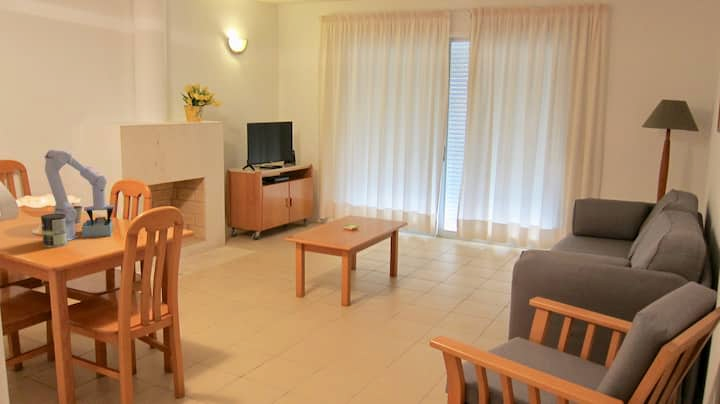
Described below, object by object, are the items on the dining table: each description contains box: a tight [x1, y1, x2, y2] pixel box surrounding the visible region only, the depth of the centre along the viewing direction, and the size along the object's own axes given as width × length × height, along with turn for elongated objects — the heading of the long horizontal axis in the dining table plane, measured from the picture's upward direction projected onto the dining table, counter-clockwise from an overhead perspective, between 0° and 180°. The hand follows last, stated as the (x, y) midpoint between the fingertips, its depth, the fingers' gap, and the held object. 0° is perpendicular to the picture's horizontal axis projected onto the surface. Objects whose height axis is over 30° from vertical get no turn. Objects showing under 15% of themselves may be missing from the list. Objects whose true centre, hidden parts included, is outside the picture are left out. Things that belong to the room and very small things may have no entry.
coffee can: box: [40, 213, 68, 248], centre depth 275 cm, size 10×10×14 cm
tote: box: [81, 218, 114, 239], centre depth 301 cm, size 17×13×6 cm
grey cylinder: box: [94, 216, 107, 226], centre depth 303 cm, size 5×5×7 cm
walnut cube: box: [93, 223, 105, 226], centre depth 297 cm, size 5×5×5 cm
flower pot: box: [73, 205, 84, 224], centre depth 325 cm, size 9×9×9 cm
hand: (100, 223), depth 304 cm, fingers open, 7 cm apart
